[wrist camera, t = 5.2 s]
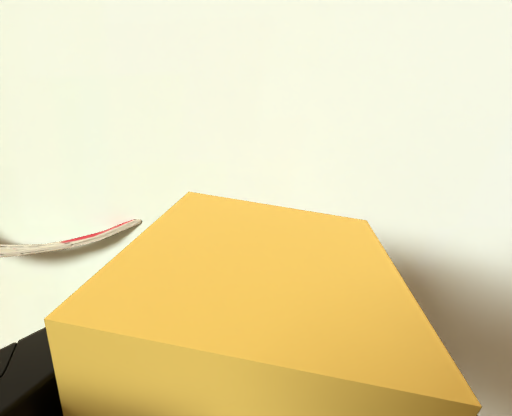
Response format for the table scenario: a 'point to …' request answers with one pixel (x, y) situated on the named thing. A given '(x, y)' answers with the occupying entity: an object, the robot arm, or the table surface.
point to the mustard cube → (251, 323)
